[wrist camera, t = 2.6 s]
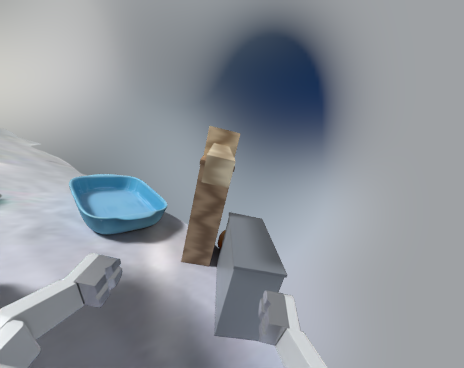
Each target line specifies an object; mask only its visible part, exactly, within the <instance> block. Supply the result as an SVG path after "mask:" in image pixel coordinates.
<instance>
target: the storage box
mask: <svg viewBox="0 0 464 368" xmlns="http://www.w3.org/2000/svg"><path fill="white" fill-rule="evenodd" d="M284 277H287V273H286V271H285V269H284V267H283V264H282V262H281V260H280V258H279V256H278V254H277V251H276V249H275V246H274V244H273V242H272V240H271V238H270V235H269V233H268V231H267V229H266V226H265V224H264V222H263V220H262V219H260V218H255V217H250V216H245V215H240V214H235V213H229V219H228V223H227V227H226V230H225V234H224V238H223V242H222V246H221V250H220V253H219V257H218V261H217V281H216V307H215V334H214V335H215V336H223V337H231V338H239V339H248V340H256V341H259V325H260V323H261V321H260V319H259V303H260V300H261V298H263V293H264V291H265V290H267V291H272V292H279V289H280V287H281V284H282V282H283V279H284Z"/></svg>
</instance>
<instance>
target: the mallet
mask: <svg viewBox="0 0 464 368" xmlns="http://www.w3.org/2000/svg"><path fill="white" fill-rule="evenodd" d="M239 137H240V134H239V133H236V132H232V131H228V130H224V129H220V128H216V127H212V126H210V127H209V132H208V137H207V142H206V147H205V151H204V156H203V157H206V162H205V167H204V172H203V176H202V181H201V182H203V183H208V184H212V185H217V186H222V187H226V188H229V185H230V181H231V177H232V173H233V169H234V165H235V159H234V157H235V153H236V149H237V145H238V141H239Z"/></svg>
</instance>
